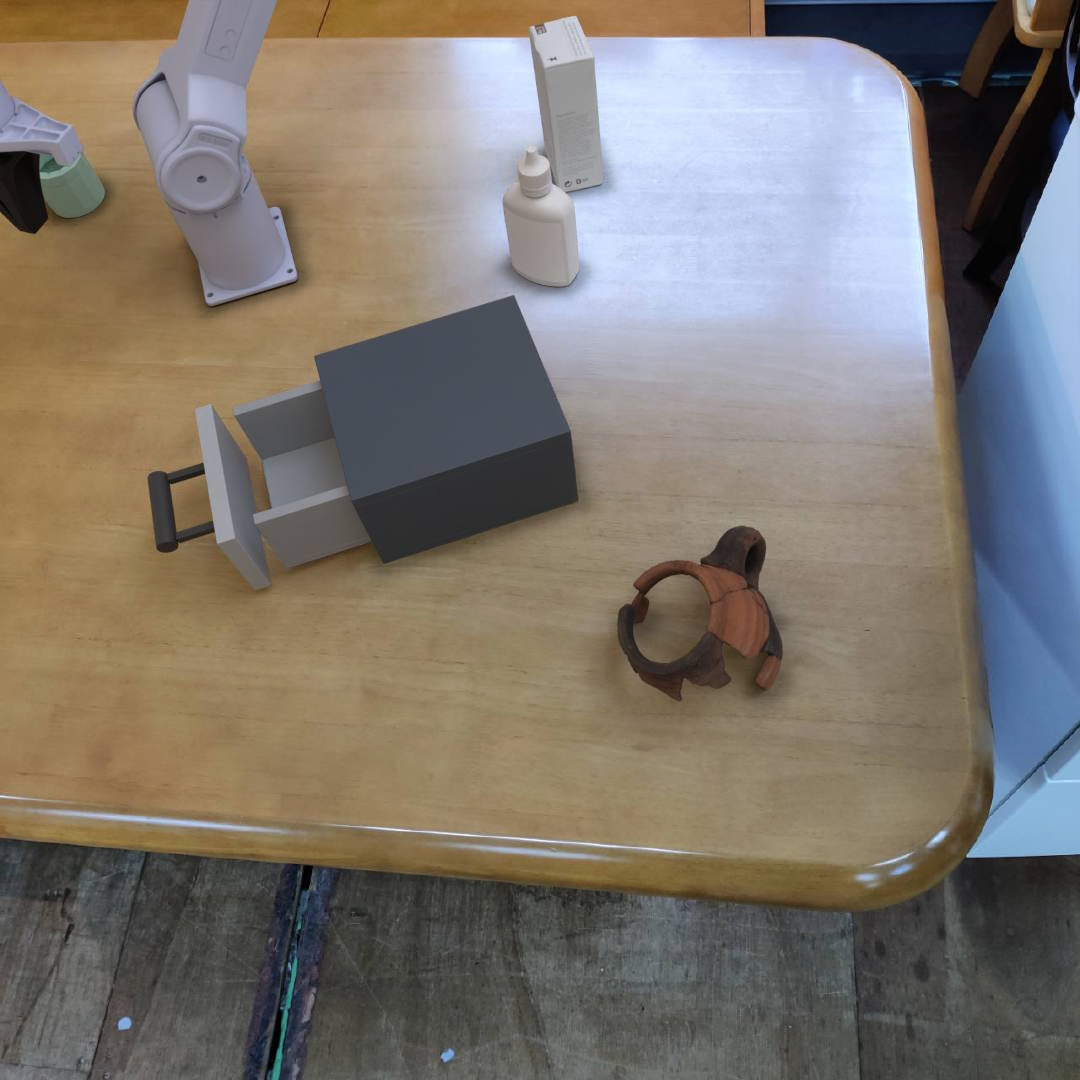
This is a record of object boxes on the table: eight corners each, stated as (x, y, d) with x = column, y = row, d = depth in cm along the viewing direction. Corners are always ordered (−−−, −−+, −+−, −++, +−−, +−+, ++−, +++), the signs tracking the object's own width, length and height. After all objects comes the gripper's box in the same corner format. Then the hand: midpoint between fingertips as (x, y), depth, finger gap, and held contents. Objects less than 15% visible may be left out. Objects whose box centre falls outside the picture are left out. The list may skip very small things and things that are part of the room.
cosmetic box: (605, 184, 84) (600, 57, 73) (556, 196, 84) (543, 70, 73) (588, 140, 87) (581, 11, 76) (540, 151, 87) (527, 23, 76)
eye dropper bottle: (542, 302, 78) (527, 183, 67) (506, 263, 80) (486, 142, 70) (586, 277, 78) (578, 156, 68) (549, 239, 81) (535, 116, 71)
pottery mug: (767, 740, 59) (706, 706, 53) (647, 697, 65) (579, 663, 59) (830, 562, 61) (777, 511, 55) (707, 538, 67) (648, 490, 62)
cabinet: (383, 564, 67) (350, 500, 60) (347, 428, 73) (313, 355, 66) (578, 501, 68) (571, 431, 61) (526, 372, 74) (514, 294, 67)
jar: (51, 189, 90) (24, 149, 87) (102, 174, 91) (78, 134, 87) (54, 224, 88) (26, 184, 84) (107, 208, 88) (82, 168, 84)
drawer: (188, 612, 66) (143, 567, 60) (170, 482, 71) (127, 428, 65) (440, 531, 67) (421, 479, 61) (403, 409, 72) (381, 350, 67)
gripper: (-202, 71, 60) (-79, 241, 72) (-3, 110, 58) (91, 278, 69) (-131, 10, 63) (-25, 181, 75) (60, 44, 61) (139, 215, 73)
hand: (34, 224), depth 72 cm, fingers closed
